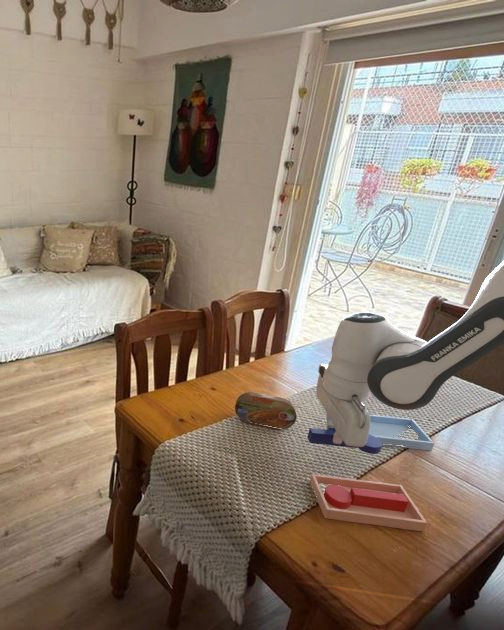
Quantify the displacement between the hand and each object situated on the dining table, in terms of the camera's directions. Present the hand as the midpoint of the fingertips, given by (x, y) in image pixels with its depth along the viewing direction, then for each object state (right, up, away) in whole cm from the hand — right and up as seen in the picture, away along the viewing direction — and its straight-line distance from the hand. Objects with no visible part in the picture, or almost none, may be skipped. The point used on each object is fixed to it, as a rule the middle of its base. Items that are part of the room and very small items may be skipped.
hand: (333, 437), depth 100 cm
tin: (-9, -2, +18) cm, 20 cm away
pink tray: (+2, -12, -8) cm, 15 cm away
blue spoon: (+3, -2, 0) cm, 3 cm away
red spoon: (+1, -12, -8) cm, 14 cm away
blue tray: (+21, -3, +15) cm, 26 cm away
